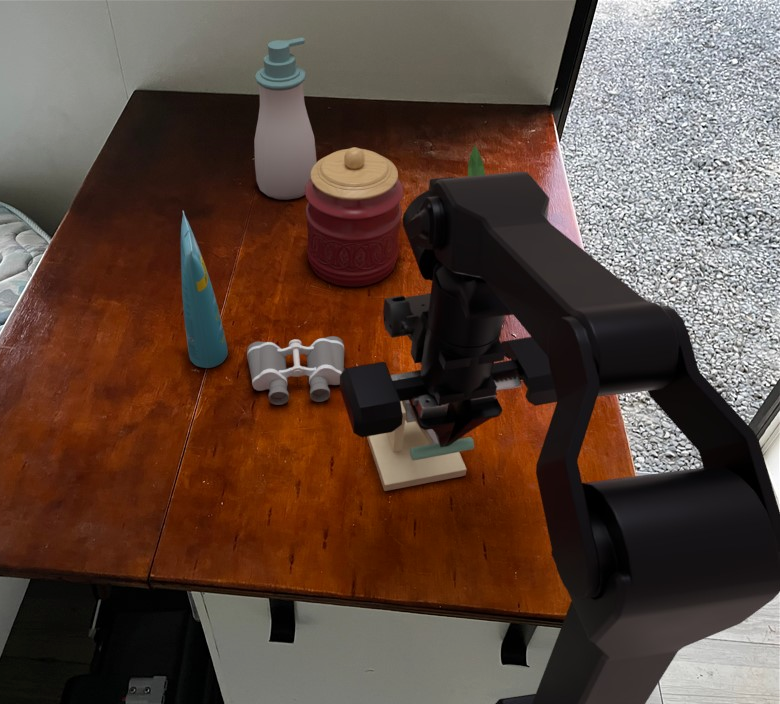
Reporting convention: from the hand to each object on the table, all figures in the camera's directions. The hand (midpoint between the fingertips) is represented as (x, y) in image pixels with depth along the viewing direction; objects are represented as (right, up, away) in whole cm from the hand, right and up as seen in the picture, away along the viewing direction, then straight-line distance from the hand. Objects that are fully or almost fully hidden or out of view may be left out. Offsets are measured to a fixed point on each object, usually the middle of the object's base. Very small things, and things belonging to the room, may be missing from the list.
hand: (442, 442), depth 66 cm
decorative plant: (+13, +23, +36) cm, 44 cm away
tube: (-25, +8, +23) cm, 35 cm away
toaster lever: (-1, 0, +6) cm, 6 cm away
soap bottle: (-16, +36, +50) cm, 63 cm away
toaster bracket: (-1, -1, +13) cm, 13 cm away
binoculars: (-14, +5, +20) cm, 25 cm away
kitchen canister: (-6, +22, +36) cm, 42 cm away
